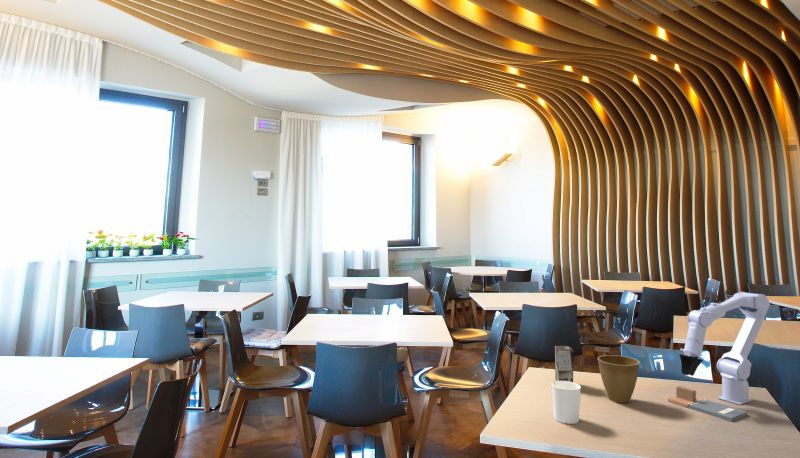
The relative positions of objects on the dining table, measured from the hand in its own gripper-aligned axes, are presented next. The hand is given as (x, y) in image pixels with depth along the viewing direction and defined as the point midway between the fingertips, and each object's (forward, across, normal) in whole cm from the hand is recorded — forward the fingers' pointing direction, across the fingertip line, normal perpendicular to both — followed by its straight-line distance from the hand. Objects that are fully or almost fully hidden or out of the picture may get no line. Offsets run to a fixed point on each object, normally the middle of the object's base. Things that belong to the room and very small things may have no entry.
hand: (687, 374), depth 171 cm
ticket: (+10, -1, +11) cm, 15 cm away
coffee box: (+20, +12, -41) cm, 47 cm away
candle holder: (+25, +46, -22) cm, 57 cm away
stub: (+10, -4, +1) cm, 11 cm away
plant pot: (+17, +14, -18) cm, 28 cm away
